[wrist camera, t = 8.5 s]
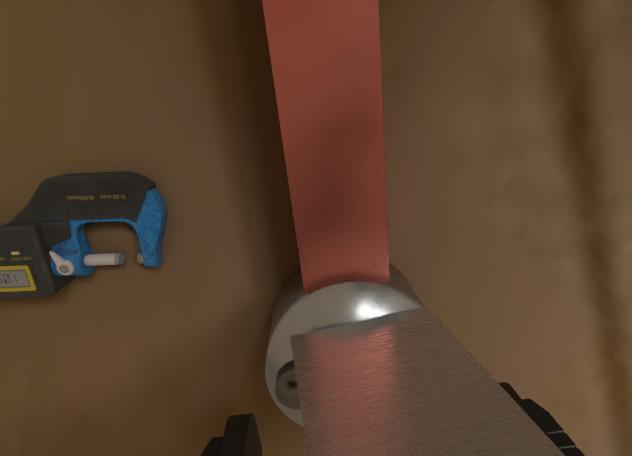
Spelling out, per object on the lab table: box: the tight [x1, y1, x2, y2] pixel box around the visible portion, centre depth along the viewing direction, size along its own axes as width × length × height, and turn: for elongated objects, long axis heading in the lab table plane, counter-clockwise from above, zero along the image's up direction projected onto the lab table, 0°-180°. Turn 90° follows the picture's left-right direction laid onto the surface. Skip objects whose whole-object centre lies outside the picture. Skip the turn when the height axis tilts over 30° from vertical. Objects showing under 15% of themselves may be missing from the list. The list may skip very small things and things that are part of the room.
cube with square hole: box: [290, 307, 565, 456], centre depth 9 cm, size 5×5×6 cm
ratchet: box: [262, 0, 425, 427], centre depth 9 cm, size 27×7×6 cm, turn 7°
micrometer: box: [0, 172, 167, 299], centre depth 13 cm, size 12×2×5 cm
